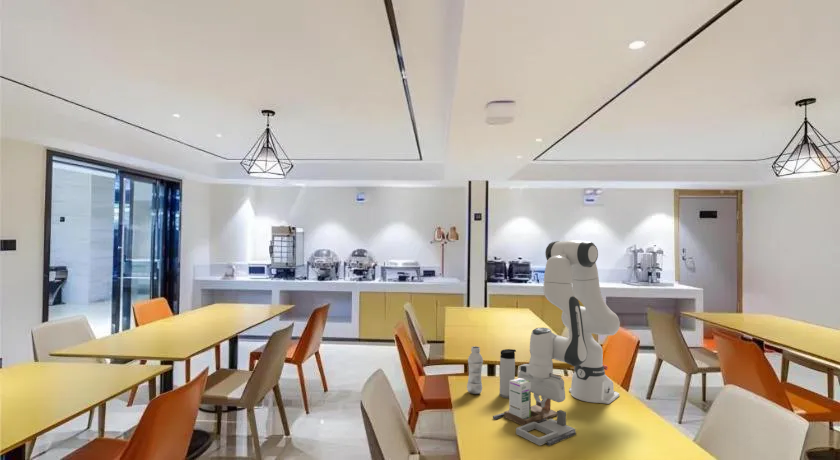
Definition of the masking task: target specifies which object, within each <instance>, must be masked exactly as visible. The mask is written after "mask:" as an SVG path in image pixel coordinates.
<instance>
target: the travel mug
mask: <svg viewBox="0 0 840 460" xmlns="http://www.w3.org/2000/svg"><path fill="white" fill-rule="evenodd" d="M516 353H517V351H516V349H511V348H509V349H507V348H506V349H502V350H500V357H499V358H500V361H499V396H500V397H501V398H503V399H509V381H510V380H514V379H516V378H515V377H516V376H515V375H516V373H515V372H516V370H515V369H516V360H515V359H516Z"/></svg>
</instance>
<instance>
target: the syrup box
mask: <svg viewBox="0 0 840 460" xmlns="http://www.w3.org/2000/svg"><path fill="white" fill-rule="evenodd" d="M531 393H532V392H531V382H530V381H528V380H526V379H522V378H518V377H517V378H515V379H514V380H510V381H509V398H508V399H509V400H508V402H509V404H508V405H509V409H508V410H509V413H511V414H513V415H516V416H518V417H520V418H522V419H524V420H525V419H528V418H531V406H532V404H531V402H532V396H531V395H532V394H531Z"/></svg>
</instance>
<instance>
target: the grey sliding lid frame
mask: <svg viewBox="0 0 840 460" xmlns="http://www.w3.org/2000/svg"><path fill="white" fill-rule="evenodd" d="M556 412H557V416H556V420H555V419H553V418H548V419H547V420H546V421H544V422H541V423H536V422H531V423H529V424H526V425H520V426H517V427H516V428H515V434H516V435H518V436H519V437H522V438H523V439H526V440H527V441H530V442H531V443H534V444H536V445H537V446H539V447H540V446H542V445H545V444H547V441H549V440H552V439H554V438H557V437H559V436H561V435H564V434H566V433H569V432H571V431H575V432H576V428H575V427H573V426H570V425H568V424H567V411H564V410H562V409H559V410H556ZM532 430H537V431H539V432H541V433H544V434H545V435H543V436H537V435H534V434H532V433H530V431H532Z"/></svg>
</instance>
